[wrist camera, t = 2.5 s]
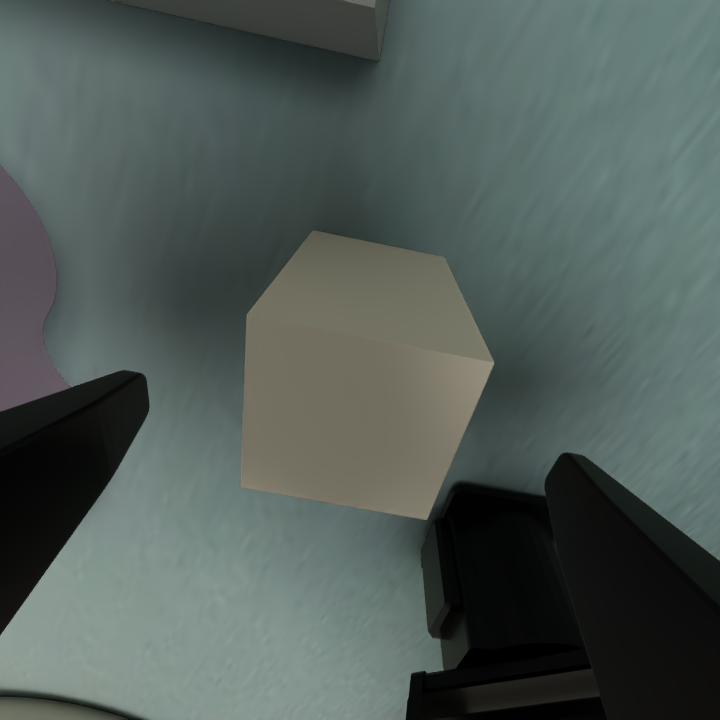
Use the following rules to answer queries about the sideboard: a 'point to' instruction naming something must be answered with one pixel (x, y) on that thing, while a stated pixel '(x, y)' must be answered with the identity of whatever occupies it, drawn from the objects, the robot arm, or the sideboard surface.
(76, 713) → the bowl
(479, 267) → the sideboard surface
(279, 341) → the block
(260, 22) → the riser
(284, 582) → the sideboard surface
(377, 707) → the sideboard surface
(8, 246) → the clip
